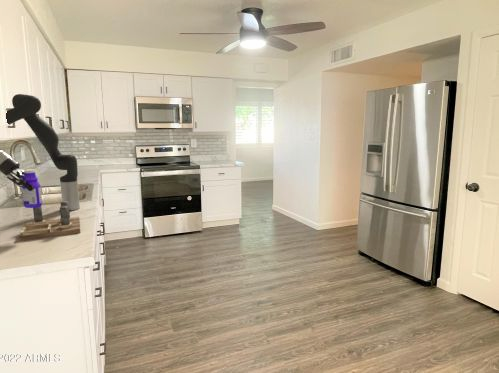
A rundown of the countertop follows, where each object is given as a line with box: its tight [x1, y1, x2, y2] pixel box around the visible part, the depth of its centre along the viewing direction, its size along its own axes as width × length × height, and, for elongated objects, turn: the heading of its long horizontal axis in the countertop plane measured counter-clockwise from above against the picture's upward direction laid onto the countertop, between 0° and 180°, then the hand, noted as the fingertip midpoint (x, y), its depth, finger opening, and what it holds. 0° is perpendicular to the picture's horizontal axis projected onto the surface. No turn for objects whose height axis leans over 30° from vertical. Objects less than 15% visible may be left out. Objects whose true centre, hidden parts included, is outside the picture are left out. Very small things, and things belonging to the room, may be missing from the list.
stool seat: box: [19, 201, 81, 241], centre depth 165 cm, size 24×24×12 cm
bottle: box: [21, 168, 43, 209], centre depth 154 cm, size 7×6×17 cm
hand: (35, 188), depth 155 cm, fingers closed on bottle, 5 cm apart
